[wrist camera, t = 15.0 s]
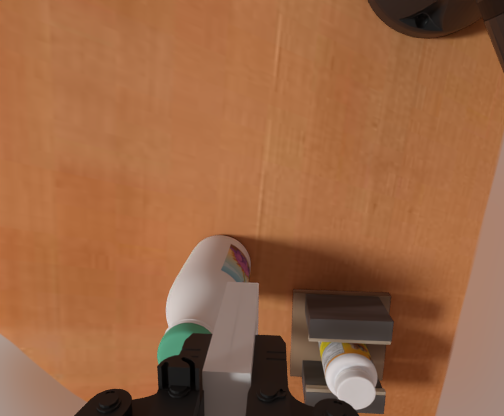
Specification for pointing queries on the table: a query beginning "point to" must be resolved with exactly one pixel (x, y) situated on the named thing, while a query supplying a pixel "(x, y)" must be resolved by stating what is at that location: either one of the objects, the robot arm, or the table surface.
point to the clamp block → (338, 336)
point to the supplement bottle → (349, 372)
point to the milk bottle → (202, 290)
